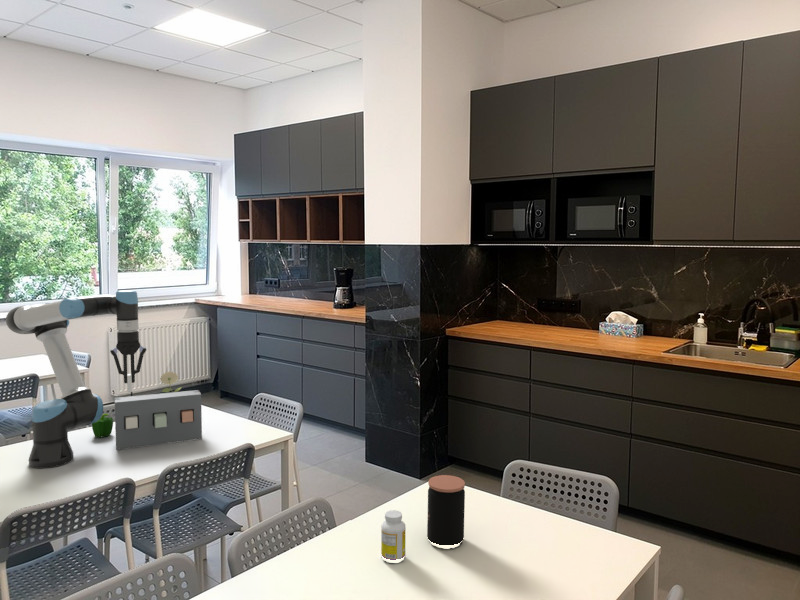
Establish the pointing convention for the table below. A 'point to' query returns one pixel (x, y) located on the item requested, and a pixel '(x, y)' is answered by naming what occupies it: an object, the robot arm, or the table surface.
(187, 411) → the terracotta key
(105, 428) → the bell pepper
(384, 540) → the supplement bottle
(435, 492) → the coffee jar
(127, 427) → the cream key
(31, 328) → the robot arm
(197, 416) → the keypad panel
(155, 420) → the sage key
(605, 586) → the table surface
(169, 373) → the flower in vase
